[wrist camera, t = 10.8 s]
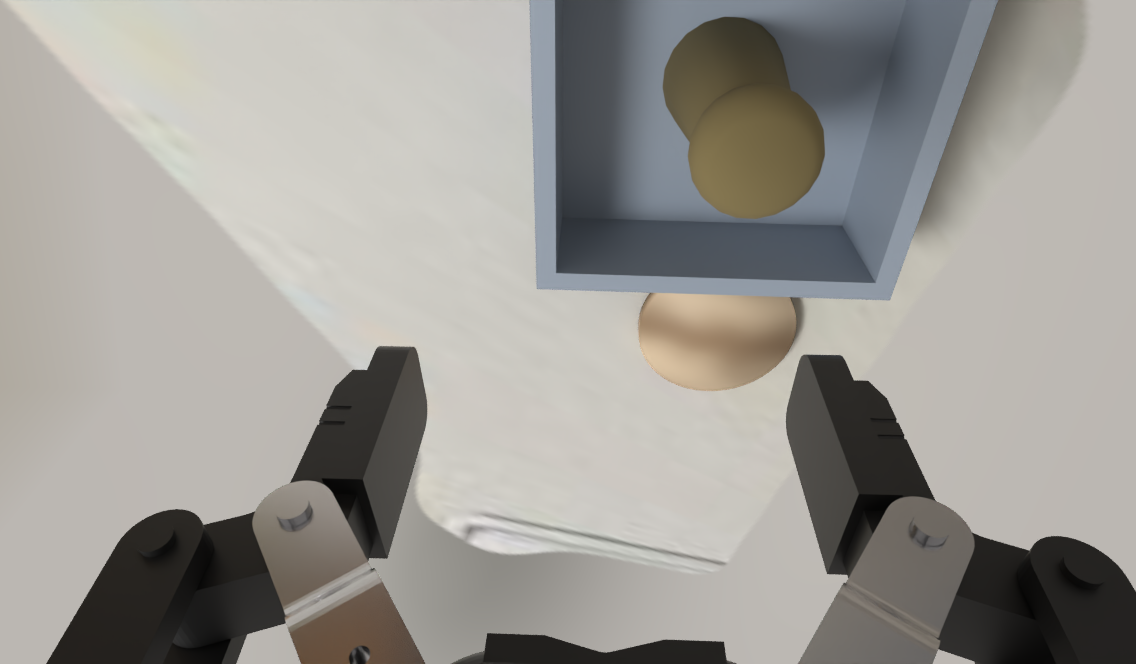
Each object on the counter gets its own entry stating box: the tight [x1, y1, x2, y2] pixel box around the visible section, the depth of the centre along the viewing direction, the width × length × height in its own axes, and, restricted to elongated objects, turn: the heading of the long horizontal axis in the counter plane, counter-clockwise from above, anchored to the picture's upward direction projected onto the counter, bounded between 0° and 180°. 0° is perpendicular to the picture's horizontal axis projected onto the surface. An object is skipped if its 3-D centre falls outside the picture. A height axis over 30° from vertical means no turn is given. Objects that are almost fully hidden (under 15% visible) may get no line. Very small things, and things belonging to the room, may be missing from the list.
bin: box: [530, 0, 998, 300], centre depth 32 cm, size 18×18×7 cm
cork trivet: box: [638, 293, 796, 391], centre depth 44 cm, size 10×10×1 cm
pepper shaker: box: [662, 17, 825, 219], centre depth 29 cm, size 6×6×11 cm
